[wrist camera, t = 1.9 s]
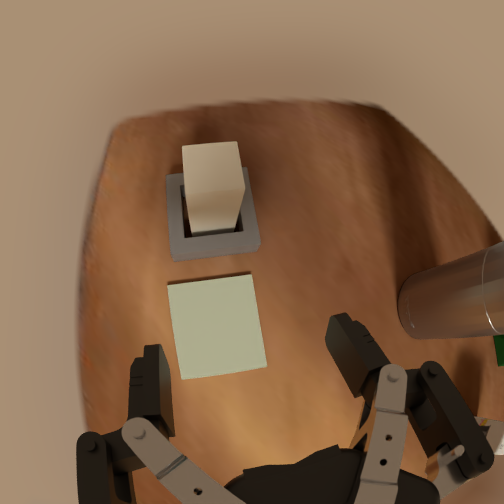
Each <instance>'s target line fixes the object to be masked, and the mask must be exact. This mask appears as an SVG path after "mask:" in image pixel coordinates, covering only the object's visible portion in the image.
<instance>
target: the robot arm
mask: <svg viewBox="0 0 504 504" xmlns="http://www.w3.org/2000/svg"><path fill="white" fill-rule="evenodd" d="M398 312H399V317H400V321H401V323H402V326H403V328H404V329H405V331H406V332H407V333H408V334H409V335H410V336H411V337H413V338H415V339H450V338H467V337H480V336H492V335H501V334H504V241H503V242H500V243H498V244H495V245H493V246H491V247H488V248H486V249H483V250H481V251H478V252H476V253H473V254H470V255H468V256H465V257H462V258H459V259H457V260H454V261H451V262H448V263H446V264H443V265H440V266H437V267H434V268H431V269H428V270H425V271H422V272H419V273H416V274H413V275H412V276H410V277H409V278H408V279H407V280H406V281H405V282H404V284H403V286H402V288H401V291H400V294H399V299H398ZM325 342H326V346H327V348H328V350H329V352H330V354H331V356H332V357H333V359H334V361H335V363H336V365H337V367H338V368H339V370H340V372H341V374H342V376H343V377H344V379H345V381H346V383H347V385H348V387H349V389H350V390H351V392H352V394H353V396H354V398H357V397H359V396H363V398H364V401H363V404H362V409H361V413H360V417H359V421H358V425H357V429H356V432H355V435H354V437H353V439H352V441H351V444H350V446H349V449H348V448H340V449H339V446H338V444H337V445H334V446H331V447H329V448H326V449H323V450H320V451H317V452H315V453H313V454H311V455H309V456H308V457H306V458H304V459H303V460H301V461H299V462H297V463H295V464H287V465H265V466H260V467H255V468H250V469H244V470H243V474H242V475H239V476H237V477H236V478H234V479H232V480H231V481H230V482H228V483H227V484H226V485H225V486H224V487H222V486H221V485H220V484H219V483H217V482H216V481H215V480H213V479H212V478H211V477H210V476H209V475H207V474H206V473H205V472H204V471H202V470H201V469H200V468H199V467H198V466H197V465H195V464H194V463H193V462H192V461H191V460H190V459H188V458H187V457H186V456H184V455H183V454H182V453H181V452H179V451H178V450H177V449H176V448H175V447H174V446H173V445H172V444H171V443H170V442H169V437H175V430H174V419H173V407H172V393H171V376H170V369H169V365H168V362H167V359H166V357H165V354H164V351H163V348H162V346H161V344H155V345H145V346H144V357H139V358H135V360H134V362H133V363H132V365H131V368H130V383H129V385H130V387H129V405H128V419H127V421H126V423H125V424H124V426H123V427H122V428H120V429H119V430H117V431H114V432H111V433H108V434H104V435H100V434H98V433H96V432H85V433H83V434H82V435H81V436H80V437H79V438H78V440H77V447H76V456H77V458H76V459H77V486H78V499H79V504H137V503H136V497H135V491H134V485H133V477H132V471H134V470H137V469H141V468H144V467H148V468H149V469H150V471H151V472H152V473H153V474H154V475H155V476H156V477H157V479H158V480H159V481H160V482H161V483H162V484H163V485H164V486H165V487H166V488H167V489H168V490H169V491H170V492H171V493H172V494H173V495H174V496H175V497H176V498H177V499H179V500H180V501H181V502H182V503H183V504H440V500H441V499H442V498H444V497H445V496H447V495H448V494H450V493H451V492H452V491H454V490H455V489H457V488H458V487H459V486H461V485H462V484H464V483H466V482H468V481H469V480H471V479H473V478H475V477H477V476H479V475H480V474H482V473H484V472H485V471H487V470H489V469H490V468H491V466H492V464H493V462H494V452H493V450H492V448H491V446H490V444H489V442H488V440H487V439H486V437H485V435H484V433H483V431H482V430H481V428H480V426H479V424H478V423H477V421H476V419H475V418H474V416H473V414H472V413H471V411H470V409H469V408H468V406H467V404H466V403H465V401H464V399H463V398H462V396H461V395H460V393H459V392H458V390H457V388H456V387H455V385H454V384H453V382H452V381H451V379H450V378H449V376H448V375H447V373H446V372H445V370H444V369H443V367H442V366H441V365H440V364H439V363H437V362H435V361H427V362H425V363H423V365H422V366H421V368H420V369H410V370H404V369H403V368H402V367H400V366H399V365H396V364H391V363H390V361H389V360H388V358H387V357H386V356H385V354H384V353H383V351H382V350H381V348H380V347H379V346H378V344H377V343H376V341H374V338H373V337H372V336H371V335H370V333H369V331H368V330H367V329H366V327H365V326H364V325H362V324H361V323H360V322H358V321H357V320H356V321H352V319H351V318H350V317H349V315H348V314H347V313H341V314H337V315H333V316H331V317H330V320H329V324H328V328H327V332H326V336H325ZM428 399H429V400H428ZM432 406H433V407H432ZM404 412H405V413H404ZM408 420H409V422H410V423H411V425H412V427H413V429H414V431H415V433H416V435H417V437H418V439H419V441H420V443H421V445H422V447H423V449H424V451H425V453H426V455H427V457H428V460H427V463H426V468H425V473H426V474H427V479H425V478H422V477H419V476H417V475H414V474H412V473H409V472H407V471H404V470H402V469H400V465H401V460H402V455H403V450H404V444H405V438H406V431H407V424H408Z"/></svg>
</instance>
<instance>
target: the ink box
mask: <svg viewBox="0 0 504 504" xmlns="http://www.w3.org/2000/svg"><path fill="white" fill-rule="evenodd" d="M474 418H475V419H476V421H477V423H478V424H479V426H480V428H481V430H482V431H483V433H484V435H485V437H486V439H487V440H488V442H489V444H490V446H491V448H492V450H493V452H494V454H497V455H504V422H502V421H497V420H491V419H486V418H481V417H476V416H474Z"/></svg>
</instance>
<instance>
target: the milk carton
mask: <svg viewBox="0 0 504 504" xmlns="http://www.w3.org/2000/svg"><path fill="white" fill-rule="evenodd" d="M493 336H494V342H495V348H496V354H497V362H498V366H504V334H501V335H493Z"/></svg>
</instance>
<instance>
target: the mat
mask: <svg viewBox="0 0 504 504" xmlns="http://www.w3.org/2000/svg"><path fill="white" fill-rule="evenodd" d="M167 287H168V296H169V304H170V311H171V318H172V325H173V332H174V338H175V345H176V351H177V356H178V362H179V368H180V373H181V378H182V380H183V379H192V378H200V377H208V376H215V375H222V374H228V373H234V372H240V371H246V370H252V369H257V368H262V367H267V362H266V356H265V350H264V345H263V339H262V333H261V327H260V321H259V315H258V309H257V304H256V298H255V292H254V286H253V280H252V274H250V275H243V276H235V277H228V278H221V279H213V280H205V281H198V282H190V283H182V284H174V285H167Z"/></svg>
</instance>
